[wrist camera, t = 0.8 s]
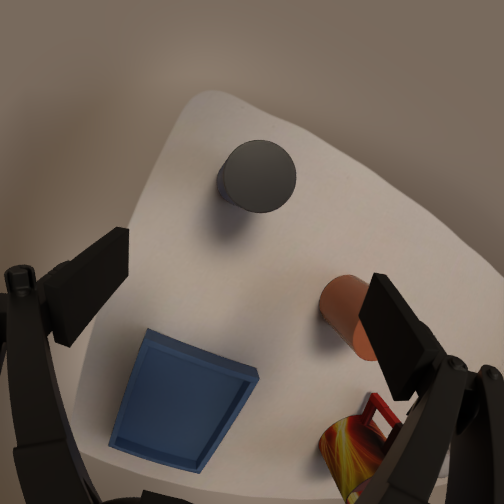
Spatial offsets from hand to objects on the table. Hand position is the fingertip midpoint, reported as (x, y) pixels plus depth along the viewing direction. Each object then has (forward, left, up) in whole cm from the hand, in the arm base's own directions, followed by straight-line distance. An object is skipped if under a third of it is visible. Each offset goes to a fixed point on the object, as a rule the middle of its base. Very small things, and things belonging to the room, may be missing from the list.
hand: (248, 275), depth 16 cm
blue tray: (+19, -13, -16) cm, 28 cm away
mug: (+34, +8, -17) cm, 39 cm away
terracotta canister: (+12, +11, -16) cm, 23 cm away
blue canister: (-5, +3, -16) cm, 17 cm away
